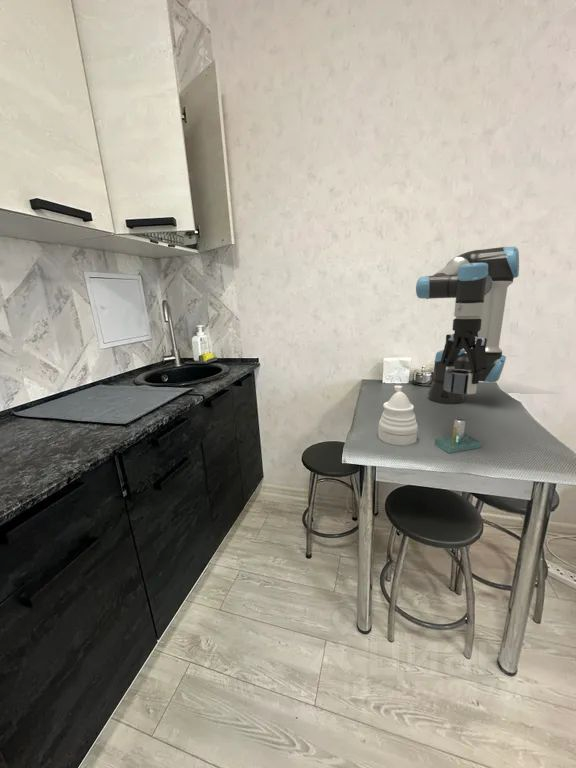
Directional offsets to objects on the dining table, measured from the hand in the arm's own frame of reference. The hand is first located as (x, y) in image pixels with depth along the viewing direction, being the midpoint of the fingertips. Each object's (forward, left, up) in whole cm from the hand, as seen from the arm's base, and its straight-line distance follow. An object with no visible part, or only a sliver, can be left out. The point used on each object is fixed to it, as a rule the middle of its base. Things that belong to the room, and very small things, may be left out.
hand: (459, 389), depth 100 cm
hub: (0, 0, 0) cm, 0 cm away
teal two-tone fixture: (+1, +3, -18) cm, 19 cm away
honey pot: (+15, -9, -19) cm, 26 cm away
